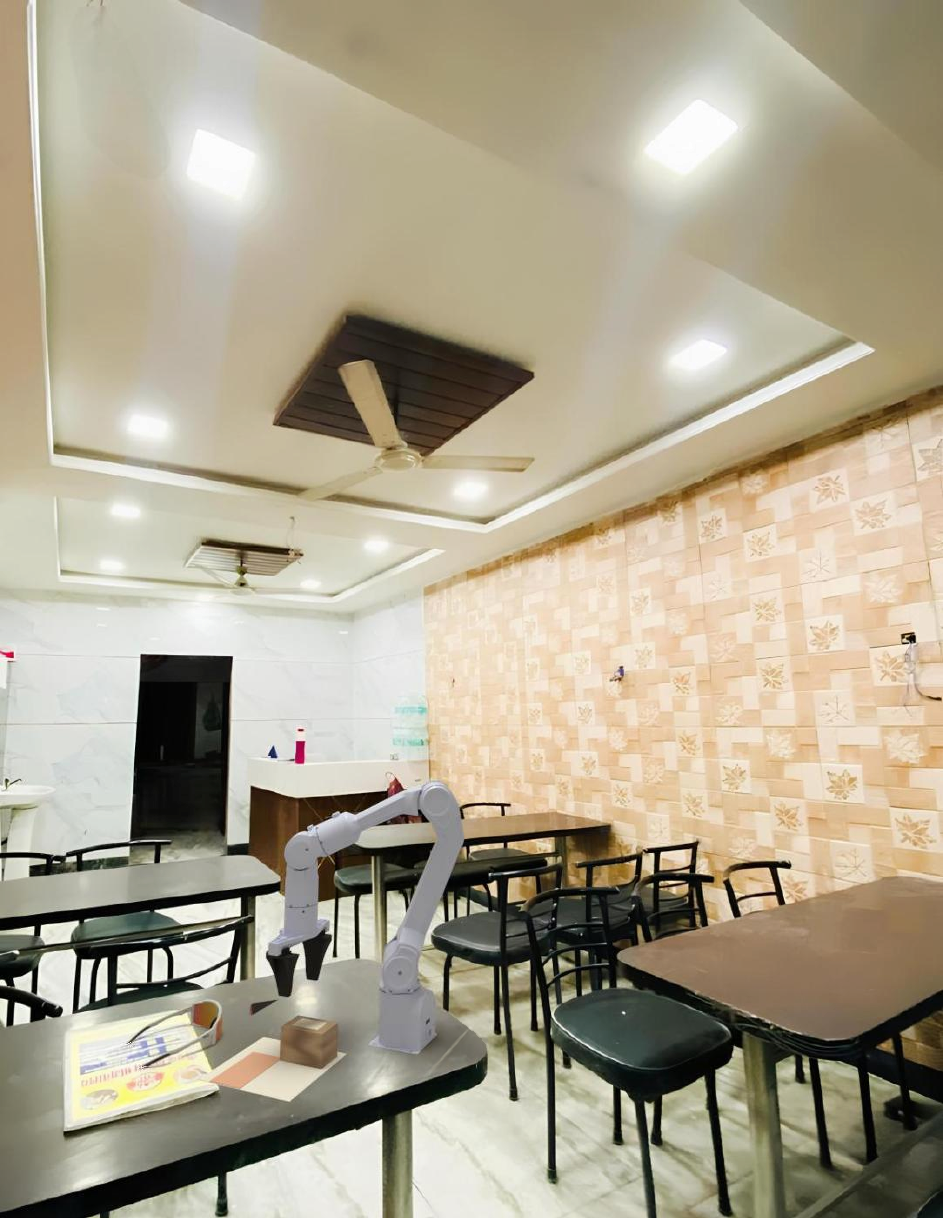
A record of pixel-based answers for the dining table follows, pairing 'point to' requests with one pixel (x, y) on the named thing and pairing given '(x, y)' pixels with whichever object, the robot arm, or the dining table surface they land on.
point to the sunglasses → (201, 1015)
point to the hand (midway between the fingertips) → (299, 987)
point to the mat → (266, 1072)
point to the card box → (309, 1042)
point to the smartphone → (260, 1006)
